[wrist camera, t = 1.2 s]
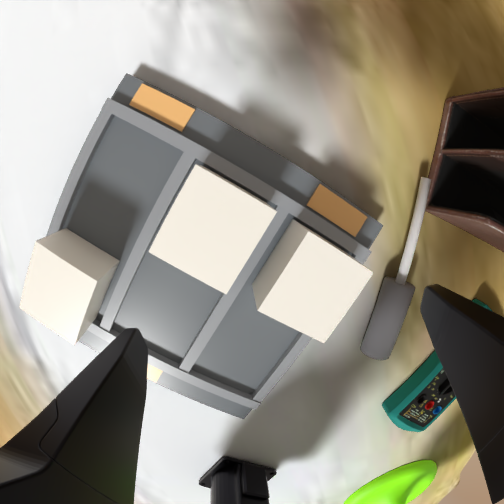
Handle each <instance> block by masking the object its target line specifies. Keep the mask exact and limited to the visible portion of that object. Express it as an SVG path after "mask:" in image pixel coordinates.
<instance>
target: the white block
mask: <svg viewBox="0 0 504 504" xmlns="http://www.w3.org/2000/svg"><path fill="white" fill-rule="evenodd" d="M372 274H373V272H372V271H371V270H369V269H368V268H367V267H365V266H364V265H363V264H361V263H360V262H359V261H357V260H356V259H355V258H353V257H352V256H350V255H349V254H348V253H346V252H345V251H343V250H341V249H340V248H338V247H337V246H335V245H334V244H332V243H331V242H329V241H327V240H326V239H324V238H323V237H321V236H320V235H318V234H316V233H315V232H313V231H312V230H310V229H308V228H307V227H305V226H304V225H302V224H300V223H299V222H297V221H296V220H294V219H292V221H291V223H290V224H289V226H288V227H287V229H286V231H285V232H284V234H283V236H282V237H281V239H280V240H279V242H278V244H277V245H276V247H275V248H274V250H273V252H272V253H271V255H270V256H269V258H268V260H267V261H266V263H265V264H264V266H263V268H262V269H261V271H260V272H259V274H258V275H257V277H256V279H255V280H254V282H253V283H252V287H253V292H254V297H255V302H256V306H257V311H259V312H261V313H263V314H265V315H267V316H269V317H271V318H273V319H275V320H277V321H279V322H281V323H283V324H285V325H287V326H289V327H291V328H293V329H295V330H297V331H299V332H301V333H303V334H306V335H308V336H310V337H312V338H314V339H316V340H318V341H320V342H322V343H325V341H326V340H327V339H328V337H329V336H330V335H331V333H332V332H333V331H334V329H335V328H336V327H337V325H338V324H339V322H340V321H341V320H342V318H343V317H344V315H345V314H346V313H347V311H348V310H349V308H350V307H351V305H352V304H353V303H354V301H355V300H356V298H357V297H358V295H359V294H360V292H361V291H362V289H363V288H364V286H365V285H366V283H367V282H368V280H369V279H370V277H371V276H372Z"/></svg>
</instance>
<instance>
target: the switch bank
mask: <svg viewBox="0 0 504 504" xmlns="http://www.w3.org/2000/svg"><path fill="white" fill-rule="evenodd" d="M195 164H197V165H202V166H204V167H206V168H207V169H209V170H211V171H213V172H215V173H216V174H218V175H220V176H222V177H223V178H225V179H227V180H228V181H230V182H232V183H234V184H235V185H237V186H239V187H241V188H242V189H244V190H246V191H247V192H249V193H251V194H252V195H254V196H256V197H258V198H259V199H261V200H263V201H264V202H266V203H267V204H269V205H270V206H271V207H272V208H273V209H275V210H276V211H277V213H276V214H275V216H274V218H273V219H272V221H271V223H270V224H269V226H268V227H267V229H266V231H265V232H264V234H263V236H262V237H261V239H260V240H259V242H258V244H257V245H256V247H255V249H254V250H253V252H252V254H251V255H250V257H249V258H248V260H247V262H246V263H245V265H244V267H243V268H242V270H241V271H240V273H239V275H238V276H237V278H236V280H235V281H234V283H233V285H232V286H231V288H230V289H229V291H228V293H227V294H224V293H222V292H220V291H219V290H217V289H215V288H213V287H211V286H209V285H207V284H205V283H204V282H202V281H200V280H198V279H196V278H194V277H192V276H191V275H189V274H187V273H185V272H183V271H181V270H180V269H178V268H176V267H174V266H172V265H171V264H169V263H167V262H165V261H163V260H162V259H160V258H158V257H156V256H155V255H153V254H151V253H149V250H150V248H151V246H152V244H153V242H154V240H155V238H156V236H157V234H158V232H159V230H160V228H161V226H162V224H163V222H164V220H165V218H166V217H167V215H168V213H169V211H170V209H171V207H172V205H173V204H174V202H175V200H176V198H177V196H178V194H179V193H180V191H181V189H182V187H183V185H184V184H185V182H186V180H187V178H188V177H189V175H190V173H191V171H192V170H193V168H194V166H195ZM292 219H294V220H296V221H297V222H299V223H300V224H302V225H304V226H305V227H307V228H308V229H310V230H312V231H313V232H315V233H316V234H318V235H320V236H321V237H323V238H324V239H326V240H327V241H329V242H331V243H332V244H334V245H335V246H337V247H338V248H340V249H341V250H343V251H345V252H346V253H348V254H349V255H350V256H352V257H353V258H355V259H356V260H357V261H359V262H360V263H361V264H363V263H364V262H365V261H366V260H367V258H368V257H369V255H370V254H371V251H370V250H369V248H370V247H371V245H372V243H373V242H374V240H375V238H376V237H377V235H378V234H379V232H380V230H381V229H382V227H383V225H382V224H381V223H379V222H378V221H377V220H375V219H374V218H373V217H371V216H370V215H368V214H367V213H366V212H364V211H363V210H362V209H360V208H359V207H357V206H356V205H355V204H353V203H352V202H350V201H349V200H348V199H346V198H345V197H343V196H342V195H340V194H339V193H338V192H336V191H335V190H333V189H332V188H330V187H329V186H327V185H326V184H324V183H323V182H321V181H320V180H318V179H317V178H315V177H314V176H312V175H311V174H309V173H308V172H306V171H305V170H303V169H302V168H300V167H299V166H297V165H295V164H294V163H292V162H291V161H289V160H288V159H286V158H284V157H283V156H281V155H280V154H278V153H276V152H275V151H273V150H271V149H270V148H268V147H266V146H265V145H263V144H261V143H260V142H258V141H256V140H255V139H253V138H251V137H250V136H248V135H246V134H244V133H243V132H241V131H239V130H237V129H236V128H234V127H232V126H230V125H229V124H227V123H225V122H223V121H221V120H220V119H218V118H216V117H214V116H212V115H210V114H209V113H207V112H205V111H203V110H201V109H199V108H197V107H195V106H194V105H192V104H190V103H188V102H186V101H184V100H182V99H180V98H178V97H176V96H174V95H172V94H170V93H168V92H166V91H164V90H162V89H160V88H158V87H155V86H153V85H151V84H149V83H147V82H145V81H143V80H141V79H138V78H136V77H134V76H132V75H129V74H127V73H126V75H125V77H124V78H123V80H122V81H121V83H120V84H119V86H118V88H117V89H116V91H115V93H114V94H113V96H112V98H111V99H109V98H107V100H106V102H105V104H104V105H103V107H102V110H101V112H100V114H99V116H98V117H97V119H96V121H95V123H94V125H93V127H92V129H91V131H90V133H89V135H88V137H87V139H86V141H85V143H84V145H83V147H82V149H81V151H80V153H79V155H78V157H77V159H76V162H75V164H74V166H73V168H72V170H71V173H70V175H69V177H68V180H67V182H66V184H65V187H64V189H63V192H62V194H61V197H60V199H59V202H58V205H57V207H56V210H55V213H54V215H53V218H52V221H51V224H50V227H49V230H48V233H47V236H48V235H51V234H53V233H55V232H58V231H60V230H62V229H65V228H67V229H69V230H70V231H72V232H73V233H75V234H77V235H78V236H80V237H81V238H83V239H85V240H86V241H88V242H89V243H91V244H93V245H94V246H96V247H98V248H99V249H101V250H103V251H104V252H106V253H108V254H109V255H111V256H113V257H114V258H116V259H118V260H119V264H118V266H117V268H116V270H115V273H114V275H113V277H112V280H111V282H110V285H109V287H108V289H107V292H106V294H105V297H104V299H103V302H102V304H101V307H100V309H99V312H98V314H97V317H96V319H95V320H94V321H93V322H92V324H91V325H90V326H89V327H88V329H87V330H86V331H85V333H84V334H83V335H82V336H81V338H80V339H79V340H78V341H79V342H81V343H83V344H84V345H86V346H88V347H89V348H91V349H93V350H95V351H96V352H98V353H101V352H102V351H103V350H104V349H105V348H106V347H107V346H108V345H109V344H110V343H111V342H112V341H113V340H114V339H115V338H116V337H117V336H118V335H119V334H120V333H121V332H122V331H123V330H124V329H126V328H138V329H139V330H140V332H141V334H142V336H143V338H144V340H145V343H146V345H147V347H148V368H147V379H149V380H151V381H153V382H155V383H157V384H159V385H161V386H163V387H166V388H168V389H170V390H172V391H174V392H177V393H179V394H181V395H183V396H186V397H188V398H190V399H193V400H195V401H197V402H200V403H202V404H205V405H207V406H210V407H212V408H215V409H217V410H220V411H223V412H225V413H228V414H231V415H233V416H236V417H239V418H242V419H244V418H245V417H246V416H247V415H248V413H249V412H250V411H251V410H252V409H254V410H256V409H257V408H258V406H259V405H260V404H261V402H262V401H263V400H264V398H265V397H266V396H267V395H268V394H269V392H270V391H271V390H272V389H273V387H274V386H275V385H276V384H277V383H278V381H279V380H280V379H281V378H282V376H283V375H284V374H285V373H286V371H287V370H288V369H289V367H290V366H291V365H292V364H293V362H294V361H295V360H296V358H297V357H298V356H299V355H300V353H301V352H302V351H303V349H304V348H305V347H306V345H307V344H308V343H309V341H310V340H311V339H312V337H310V336H308V335H306V334H303V333H301V332H299V331H297V330H295V329H293V328H291V327H289V326H287V325H285V324H283V323H281V322H279V321H277V320H275V319H273V318H271V317H269V316H267V315H265V314H263V313H261V312H259V311H257V306H256V302H255V297H254V292H253V287H252V283H253V282H254V280H255V279H256V277H257V275H258V274H259V272H260V271H261V269H262V268H263V266H264V264H265V263H266V261H267V260H268V258H269V256H270V255H271V253H272V252H273V250H274V248H275V247H276V245H277V244H278V242H279V240H280V239H281V237H282V236H283V234H284V232H285V231H286V229H287V227H288V226H289V224H290V223H291V221H292Z"/></svg>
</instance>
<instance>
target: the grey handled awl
mask: <svg viewBox="0 0 504 504" xmlns="http://www.w3.org/2000/svg"><path fill="white" fill-rule="evenodd" d="M430 184H431V179H429V178H425V177H421V180H420V186H419V191H418V195H417V200H416V205H415V209H414V214H413V218H412V222H411V226H410V230H409V234H408V238H407V242H406V246H405V249H404V253H403V256H402V260H401V263H400V267H399V270H398V274H397V277H396V278H393V277H385V278H384V280H383V284H382V287H381V290H380V293H379V296H378V299H377V302H376V305H375V308H374V311H373V314H372V317H371V320H370V323H369V326H368V328H367V331H366V334H365V337H364V339H363V342H362V345H361V347H360V348H361V351H362V352H363V353H364V354H365V355H367V356H368V357H370V358H373V359H377V360H386V359H388V358H389V357H390V354H391V352H392V350H393V347H394V345H395V342H396V340H397V337H398V335H399V332H400V330H401V327H402V325H403V322H404V319H405V317H406V314H407V311H408V308H409V305H410V303H411V300H412V297H413V294H414V291H415V286H414V285H412V284H411V283H409V282H406V279H407V276H408V272H409V269H410V266H411V262H412V259H413V255H414V252H415V248H416V244H417V241H418V237H419V233H420V229H421V225H422V221H423V216H424V212H425V208H426V203H427V198H428V194H429V189H430Z"/></svg>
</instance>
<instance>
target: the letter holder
mask: <svg viewBox="0 0 504 504" xmlns="http://www.w3.org/2000/svg"><path fill="white" fill-rule="evenodd" d="M428 178H429V179H431V184H430V189H429V194H428V198H427V203H426V208H425V211H427V212H429V213H431V214H433V215H435V216H437V217H439V218H441V219H443V220H445V221H447V222H449V223H451V224H453V225H455V226H457V227H459V228H461V229H463V230H464V231H466V232H468V233H470V234H472V235H474V236H476V237H478V238H479V239H482V240H483V241H485V242H487V243H489V244H490V245H492V246H494V247H496V248H497V249H499V250H501V251H503V252H504V88H498V89H492V90H485V91H480V92H474V93H470V94H465V95H460V96H453V97H449V98H447V99H446V101H445V106H444V110H443V115H442V120H441V125H440V129H439V135H438V139H437V144H436V148H435V153H434V156H433V161H432V165H431V169H430V172H429V176H428Z"/></svg>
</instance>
